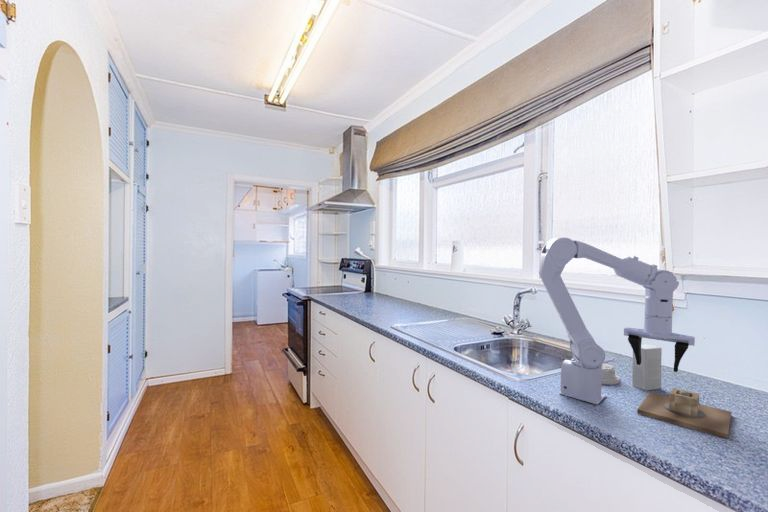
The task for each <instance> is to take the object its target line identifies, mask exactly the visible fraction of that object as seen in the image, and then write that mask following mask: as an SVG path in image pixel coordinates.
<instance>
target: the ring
mask: <svg viewBox="0 0 768 512" xmlns="http://www.w3.org/2000/svg"><path fill="white" fill-rule="evenodd" d="M680 391H686V392H689V396H684V395H680ZM699 404H700V393H697V392H693V391H688V390H684V389H681V388H675V387H672V389H671V390H670V392H669V410H673V411H677V412H680V413H684V414H688V415H692V416H695V417H696V416H697V413H698V411H699Z"/></svg>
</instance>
